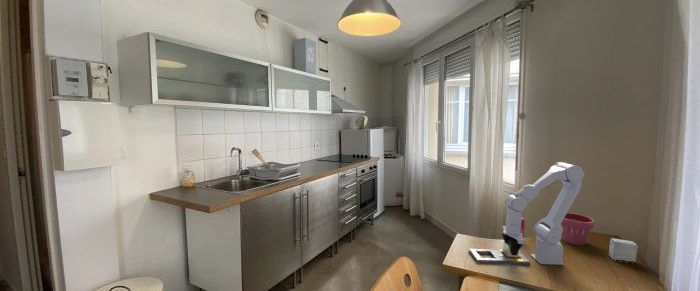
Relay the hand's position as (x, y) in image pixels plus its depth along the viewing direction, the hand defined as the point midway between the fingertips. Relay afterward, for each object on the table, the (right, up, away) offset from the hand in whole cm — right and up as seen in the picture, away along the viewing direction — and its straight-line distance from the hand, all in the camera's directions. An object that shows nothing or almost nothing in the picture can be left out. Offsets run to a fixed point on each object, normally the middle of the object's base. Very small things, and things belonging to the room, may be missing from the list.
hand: (511, 252), depth 125 cm
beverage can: (+14, -1, +20) cm, 24 cm away
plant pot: (+43, -2, +19) cm, 47 cm away
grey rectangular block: (0, -3, 0) cm, 3 cm away
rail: (-5, -3, +1) cm, 6 cm away
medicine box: (+50, -4, 0) cm, 50 cm away
